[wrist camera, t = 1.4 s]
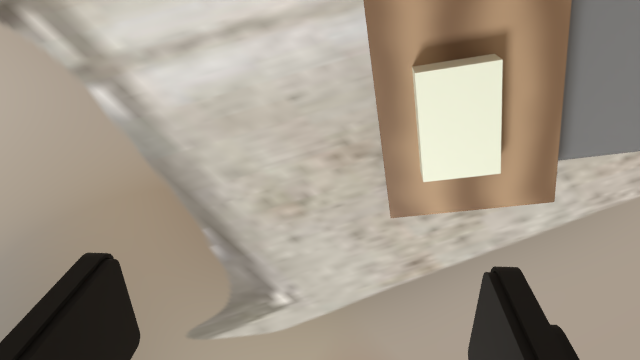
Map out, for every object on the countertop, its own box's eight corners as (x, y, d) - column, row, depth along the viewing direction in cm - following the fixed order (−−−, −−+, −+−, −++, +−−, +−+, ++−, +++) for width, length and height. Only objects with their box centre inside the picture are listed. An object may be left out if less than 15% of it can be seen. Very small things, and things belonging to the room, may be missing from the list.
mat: (685, -55, 30) (688, -55, 30) (646, 148, 37) (648, 150, 37) (550, -30, 31) (552, -29, 31) (538, 161, 39) (539, 162, 38)
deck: (554, -92, 30) (580, -98, 26) (537, 179, 40) (554, 202, 36) (358, -51, 32) (357, -51, 29) (388, 195, 42) (390, 218, 38)
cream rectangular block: (494, 53, 31) (502, 59, 29) (493, 162, 35) (500, 173, 33) (412, 66, 32) (414, 73, 30) (420, 171, 36) (423, 182, 34)
